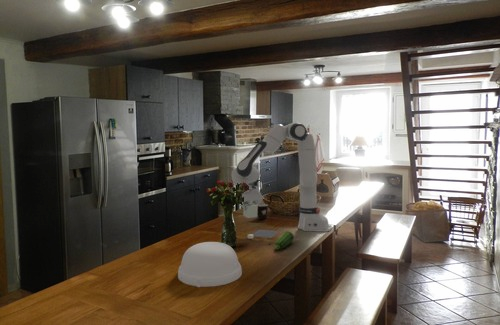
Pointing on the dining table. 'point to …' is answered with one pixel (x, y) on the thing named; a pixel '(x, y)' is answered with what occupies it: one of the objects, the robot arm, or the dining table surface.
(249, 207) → the square capped bottle
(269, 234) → the mat
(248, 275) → the dining table surface
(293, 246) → the dining table surface
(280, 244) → the vegetable
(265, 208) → the coffee mug
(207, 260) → the dome cover
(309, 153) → the robot arm
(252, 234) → the glossy white pebble
